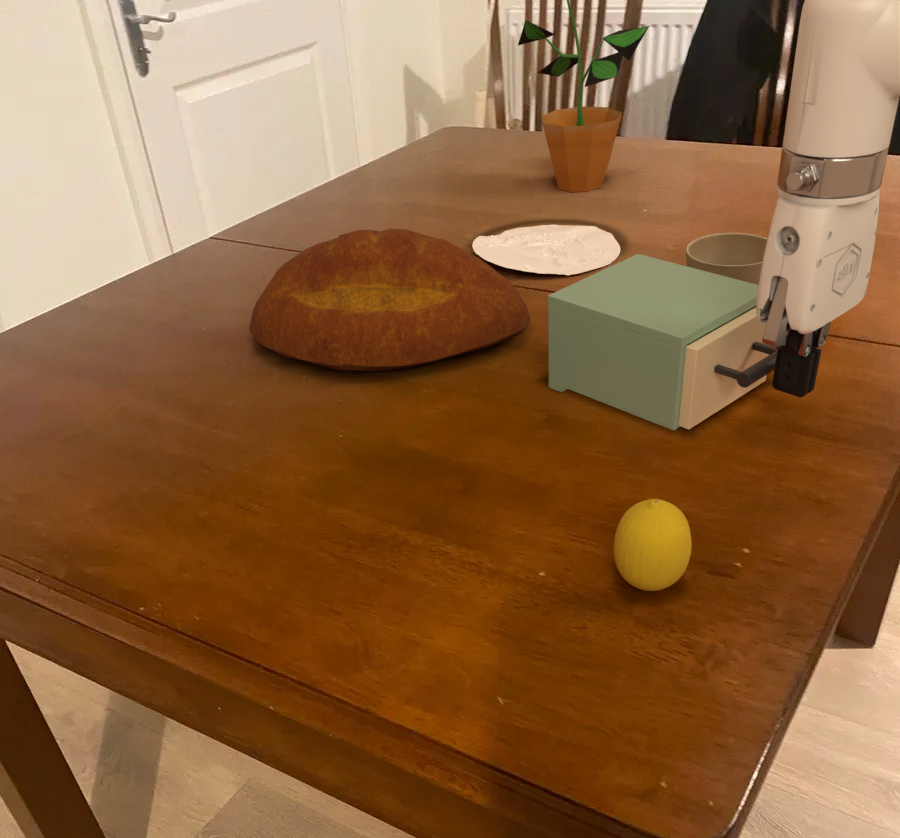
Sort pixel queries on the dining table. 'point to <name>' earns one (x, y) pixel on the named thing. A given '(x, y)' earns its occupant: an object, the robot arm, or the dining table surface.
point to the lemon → (652, 545)
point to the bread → (385, 303)
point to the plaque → (549, 249)
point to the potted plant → (583, 111)
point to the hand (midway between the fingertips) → (792, 389)
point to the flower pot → (728, 255)
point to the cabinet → (637, 332)
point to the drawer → (724, 367)
